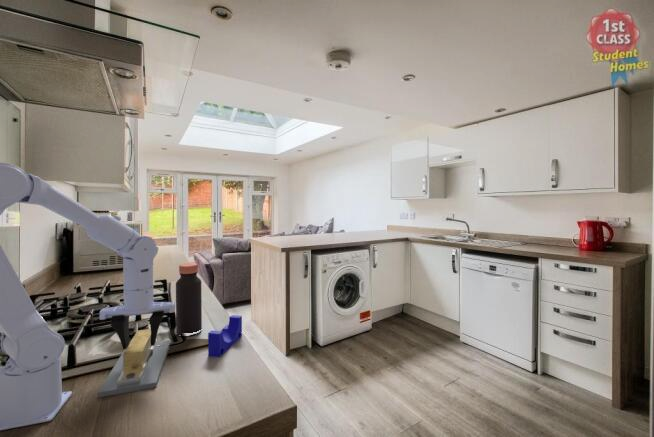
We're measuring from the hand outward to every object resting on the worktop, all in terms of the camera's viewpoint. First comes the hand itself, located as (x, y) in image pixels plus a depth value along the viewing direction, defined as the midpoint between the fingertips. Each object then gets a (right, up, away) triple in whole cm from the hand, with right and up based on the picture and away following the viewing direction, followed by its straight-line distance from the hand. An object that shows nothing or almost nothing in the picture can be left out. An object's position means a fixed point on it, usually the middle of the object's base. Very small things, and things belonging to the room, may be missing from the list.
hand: (139, 345), depth 68 cm
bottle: (+3, -4, +18) cm, 19 cm away
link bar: (0, -3, 0) cm, 3 cm away
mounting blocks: (0, -5, 0) cm, 5 cm away
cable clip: (+16, -5, +11) cm, 20 cm away
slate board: (0, -5, 0) cm, 5 cm away
